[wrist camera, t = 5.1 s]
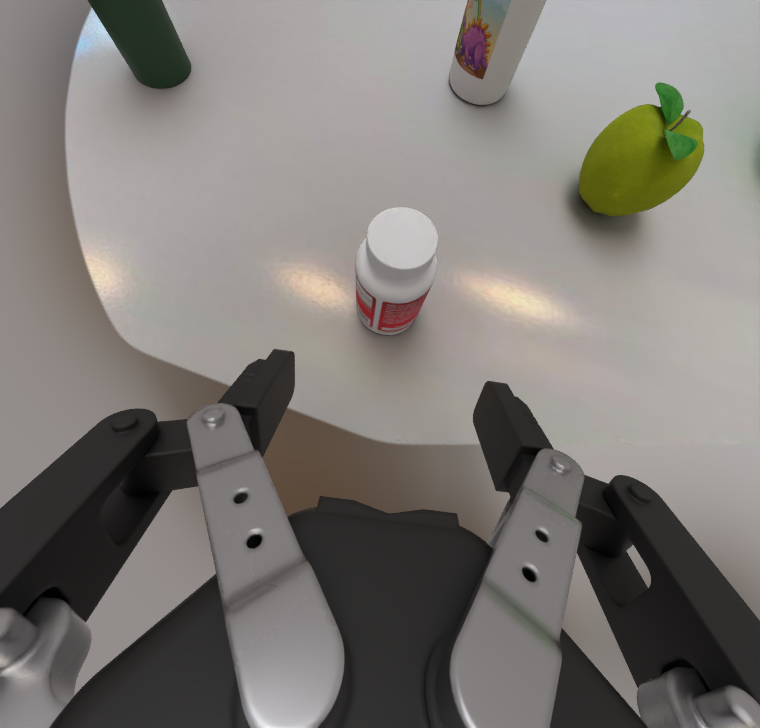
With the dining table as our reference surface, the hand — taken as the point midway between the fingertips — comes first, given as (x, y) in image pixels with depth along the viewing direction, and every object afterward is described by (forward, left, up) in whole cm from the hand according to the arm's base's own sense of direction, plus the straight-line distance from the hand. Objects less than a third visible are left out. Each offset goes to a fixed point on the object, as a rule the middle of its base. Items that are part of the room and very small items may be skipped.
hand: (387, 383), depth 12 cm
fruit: (+36, -6, -15) cm, 40 cm away
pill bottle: (+9, +5, -15) cm, 19 cm away
